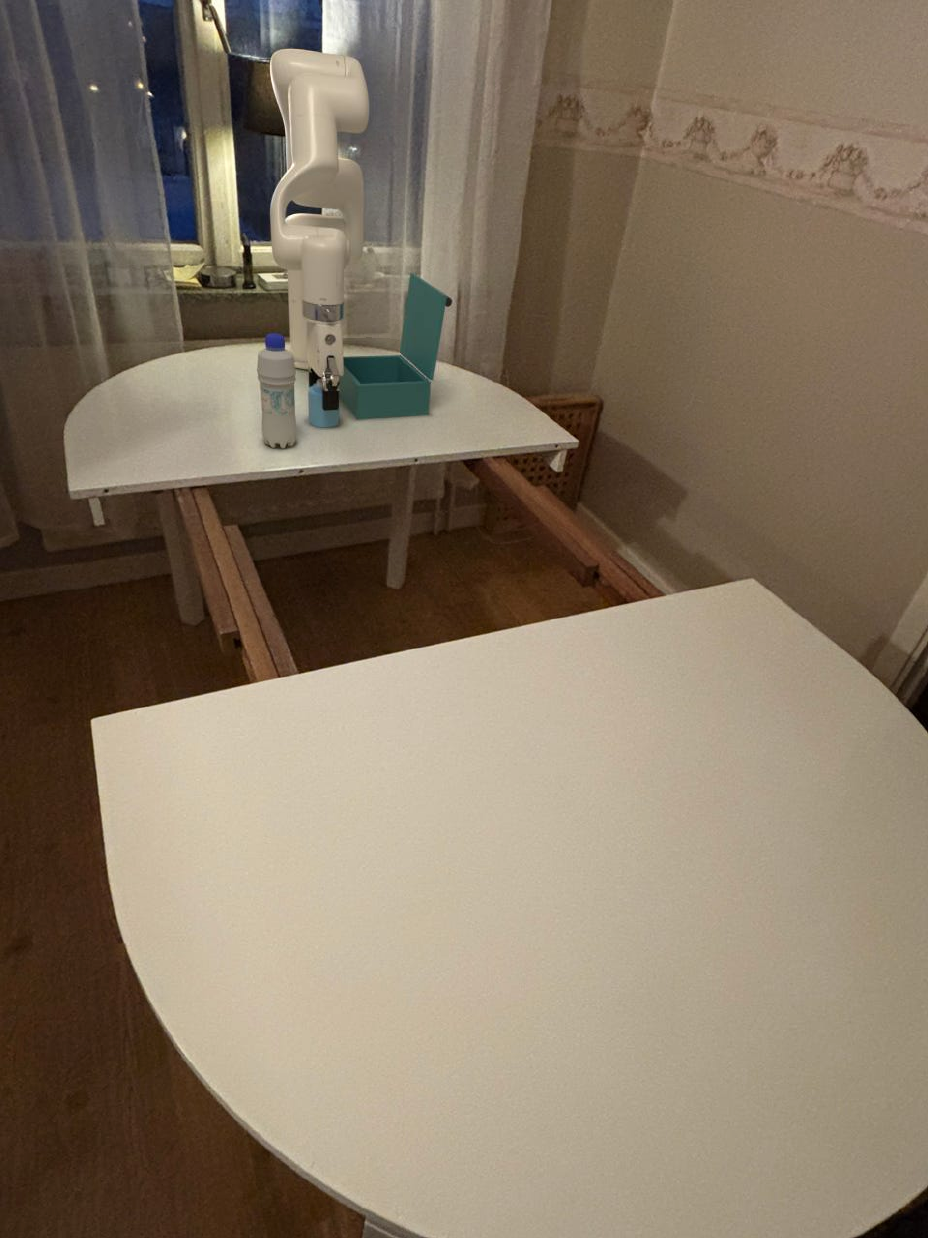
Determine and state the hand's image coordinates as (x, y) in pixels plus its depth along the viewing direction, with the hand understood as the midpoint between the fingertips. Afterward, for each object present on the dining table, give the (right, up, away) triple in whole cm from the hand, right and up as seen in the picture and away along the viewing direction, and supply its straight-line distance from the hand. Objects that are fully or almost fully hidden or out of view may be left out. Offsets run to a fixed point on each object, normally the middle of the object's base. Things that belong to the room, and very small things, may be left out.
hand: (323, 400), depth 147 cm
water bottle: (0, -4, +2) cm, 4 cm away
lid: (+19, +18, +9) cm, 28 cm away
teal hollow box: (+9, +4, +15) cm, 18 cm away
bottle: (-7, -11, -8) cm, 15 cm away
